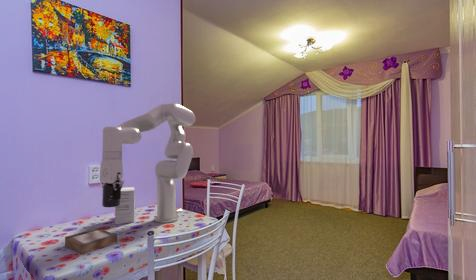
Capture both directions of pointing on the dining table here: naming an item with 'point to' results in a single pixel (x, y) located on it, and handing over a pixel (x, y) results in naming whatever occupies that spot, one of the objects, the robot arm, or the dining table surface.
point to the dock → (90, 240)
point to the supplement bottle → (109, 196)
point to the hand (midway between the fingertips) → (111, 197)
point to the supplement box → (126, 206)
